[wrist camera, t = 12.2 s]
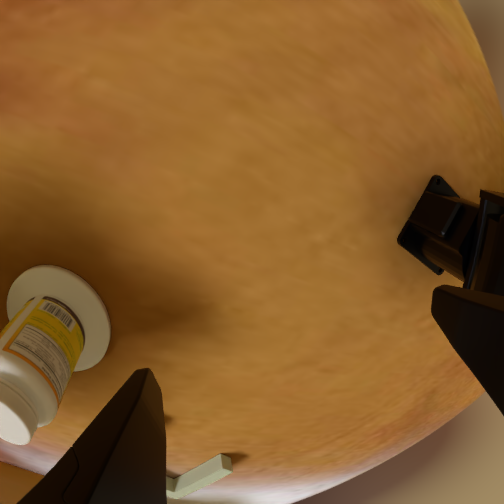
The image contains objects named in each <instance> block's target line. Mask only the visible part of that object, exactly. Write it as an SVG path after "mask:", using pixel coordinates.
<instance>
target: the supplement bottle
mask: <svg viewBox="0 0 504 504" xmlns="http://www.w3.org/2000/svg"><path fill="white" fill-rule="evenodd" d="M85 341H86V333H85V328H84V324H83V322H82V320H81V318H80V316H79V315H78V313H77V312H76V311H75V309H74V308H73V307H72V306H71V305H69V304H68V303H67V302H66V301H64V300H62V299H61V298H58V297H56V296H53V295H48V294H42V295H37V296H34V297H32V298H31V299H29V300H28V301H27V302H26V303H25V304H24V305H23V307H22V308H21V309H20V310H19V311H18V312H17V314H16V315H15V316H14V317H13V318H12V319H11V321H10V322H9V323H8V324H7V325H6V326H5V328H4V329H3V330H2V331H1V332H0V438H2V439H4V440H5V441H8V442H10V443H13V444H17V445H25V444H28V443H29V442H30V441H31V439H32V436H33V434H34V432H35V431H36V429H37V427H42V426H45V425H48V424H49V423H50V422H51V421H52V420H53V419H54V417H55V415H56V413H57V410H58V408H59V405H60V403H61V400H62V397H63V395H64V393H65V390H66V388H67V385H68V383H69V380H70V378H71V376H72V373H73V371H74V369H75V366H76V364H77V362H78V359H79V357H80V355H81V353H82V351H83V348H84V345H85Z"/></svg>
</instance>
